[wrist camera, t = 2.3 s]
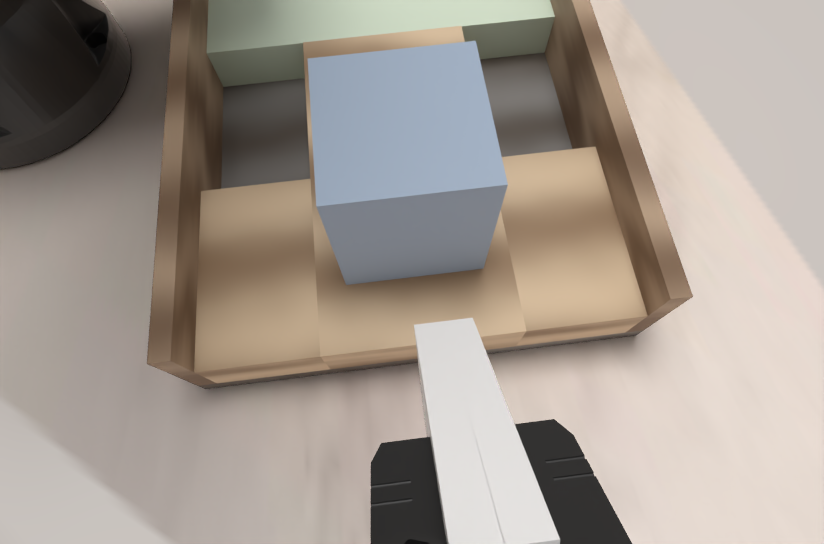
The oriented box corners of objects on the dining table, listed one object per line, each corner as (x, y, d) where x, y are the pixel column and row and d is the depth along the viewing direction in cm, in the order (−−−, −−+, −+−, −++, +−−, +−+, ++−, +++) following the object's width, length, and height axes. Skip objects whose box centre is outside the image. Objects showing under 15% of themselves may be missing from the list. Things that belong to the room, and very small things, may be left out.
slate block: (483, 268, 26) (507, 184, 19) (346, 285, 26) (316, 206, 19) (461, 154, 29) (475, 40, 21) (336, 167, 29) (307, 58, 21)
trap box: (636, 335, 29) (692, 296, 23) (205, 389, 28) (147, 363, 22) (526, -37, 40) (545, -128, 34) (217, -6, 39) (180, -93, 33)
